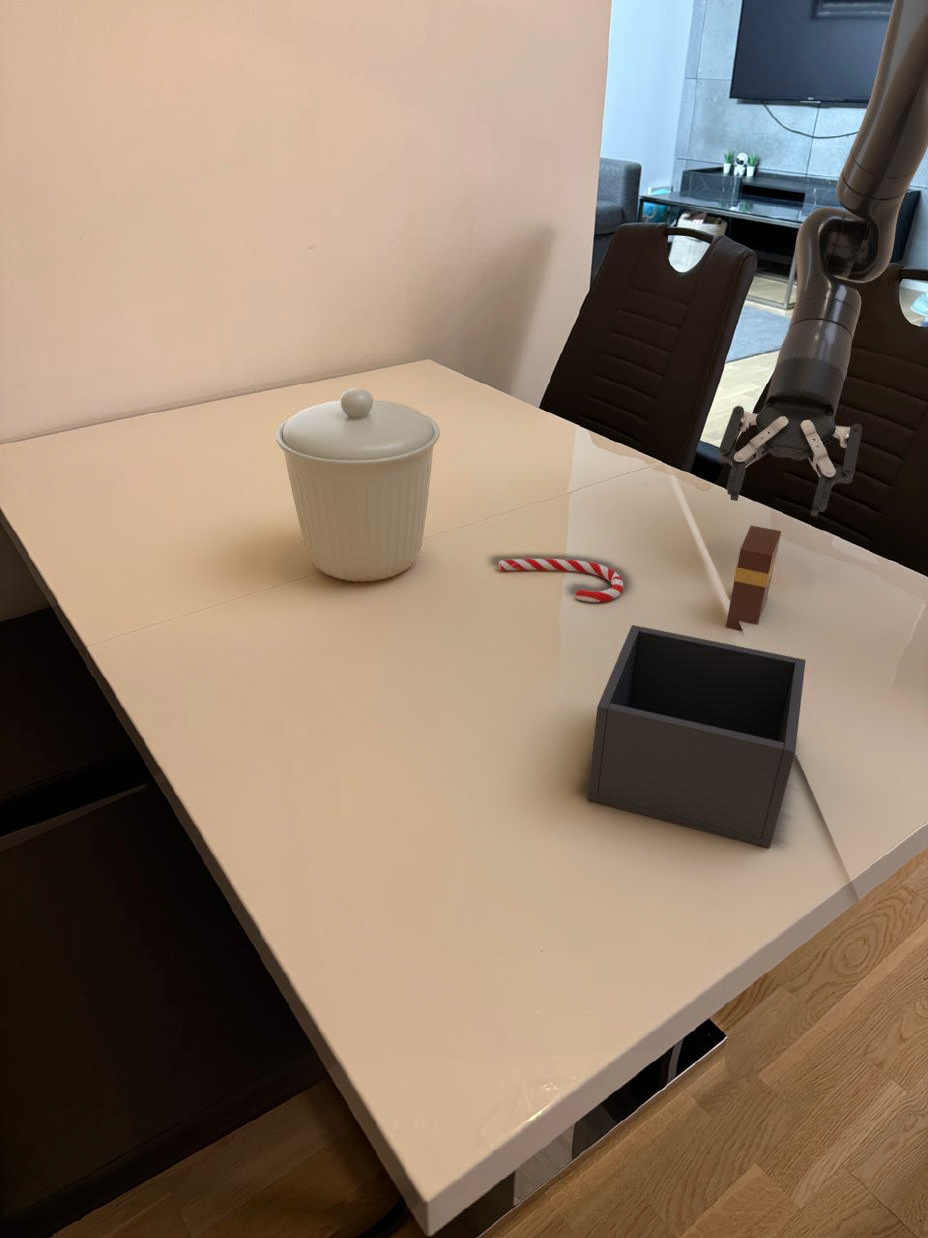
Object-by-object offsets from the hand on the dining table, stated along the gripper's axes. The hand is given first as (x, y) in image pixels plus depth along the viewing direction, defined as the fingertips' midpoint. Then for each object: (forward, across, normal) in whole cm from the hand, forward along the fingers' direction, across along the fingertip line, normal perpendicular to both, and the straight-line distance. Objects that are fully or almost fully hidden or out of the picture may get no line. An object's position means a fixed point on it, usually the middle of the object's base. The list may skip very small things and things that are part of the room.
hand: (773, 505), depth 100 cm
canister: (+17, -44, -2) cm, 47 cm away
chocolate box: (+12, 0, +3) cm, 12 cm away
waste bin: (+32, 0, -17) cm, 36 cm away
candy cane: (+13, -21, +2) cm, 25 cm away
